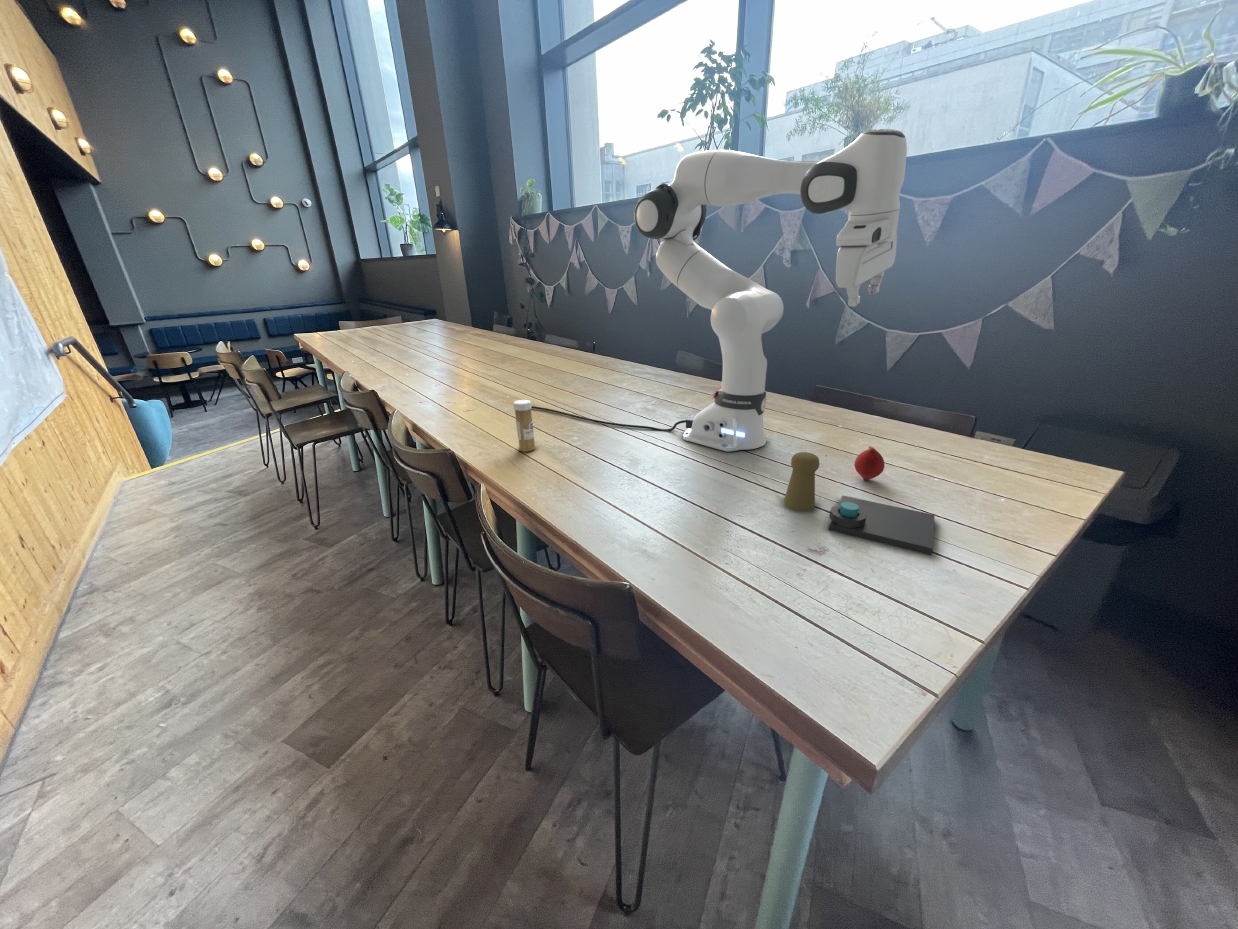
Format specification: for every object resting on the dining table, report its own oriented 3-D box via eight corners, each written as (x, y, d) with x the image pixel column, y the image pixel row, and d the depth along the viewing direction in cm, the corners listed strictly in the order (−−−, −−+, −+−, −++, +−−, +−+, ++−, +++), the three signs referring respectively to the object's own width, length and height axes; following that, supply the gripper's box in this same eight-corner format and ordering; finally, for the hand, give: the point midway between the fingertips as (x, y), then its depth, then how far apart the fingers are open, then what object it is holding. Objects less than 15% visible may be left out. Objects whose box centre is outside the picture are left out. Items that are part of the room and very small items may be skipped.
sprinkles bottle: (533, 452, 126) (528, 403, 121) (517, 452, 126) (511, 404, 121) (537, 445, 130) (532, 398, 125) (521, 446, 131) (515, 399, 125)
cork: (817, 512, 92) (825, 461, 88) (785, 510, 93) (791, 459, 89) (812, 498, 98) (819, 449, 93) (781, 496, 99) (787, 448, 94)
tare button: (837, 515, 86) (839, 507, 85) (840, 508, 88) (842, 500, 87) (855, 519, 84) (857, 511, 84) (858, 512, 87) (860, 504, 86)
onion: (878, 475, 106) (885, 442, 103) (882, 486, 102) (890, 452, 98) (850, 472, 108) (856, 440, 105) (853, 483, 103) (859, 449, 100)
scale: (825, 529, 86) (828, 515, 85) (838, 500, 96) (841, 487, 95) (930, 555, 78) (935, 540, 77) (932, 521, 88) (936, 507, 87)
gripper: (877, 219, 100) (869, 286, 107) (832, 238, 89) (826, 311, 96) (909, 217, 96) (899, 287, 103) (866, 237, 85) (857, 314, 92)
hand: (863, 299), depth 100 cm, fingers open, 8 cm apart
